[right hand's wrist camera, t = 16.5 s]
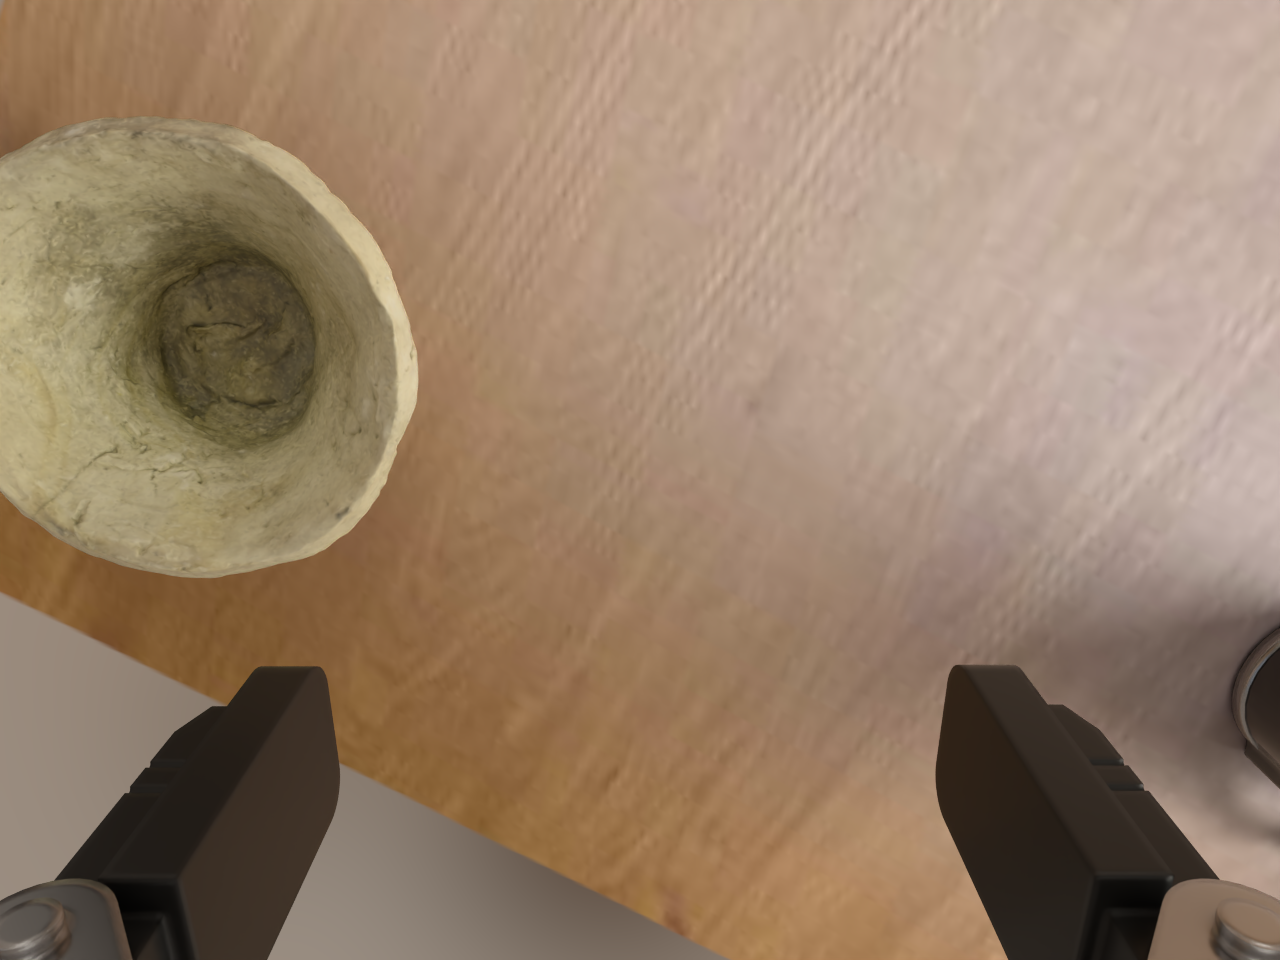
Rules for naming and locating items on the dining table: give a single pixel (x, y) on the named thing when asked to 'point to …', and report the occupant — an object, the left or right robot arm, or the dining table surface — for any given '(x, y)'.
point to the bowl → (192, 348)
